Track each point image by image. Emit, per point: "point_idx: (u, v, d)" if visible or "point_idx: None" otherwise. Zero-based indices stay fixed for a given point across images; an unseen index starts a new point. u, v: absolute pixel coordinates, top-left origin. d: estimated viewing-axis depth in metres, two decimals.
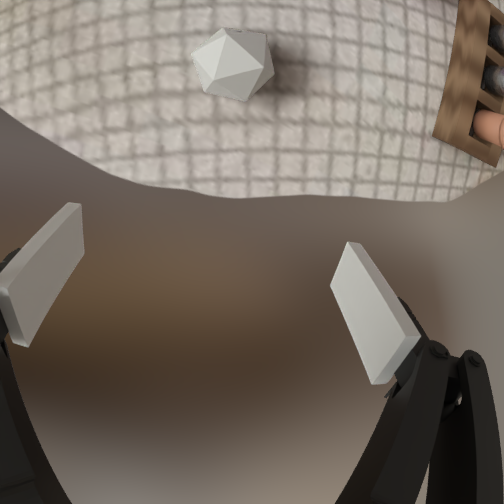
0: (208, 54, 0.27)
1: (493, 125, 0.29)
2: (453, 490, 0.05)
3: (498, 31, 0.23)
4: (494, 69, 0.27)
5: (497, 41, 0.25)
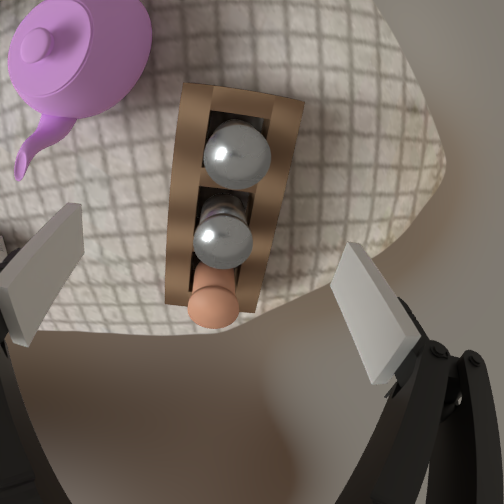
0: None
1: None
2: (453, 490, 0.05)
3: None
4: (203, 211, 0.31)
5: None
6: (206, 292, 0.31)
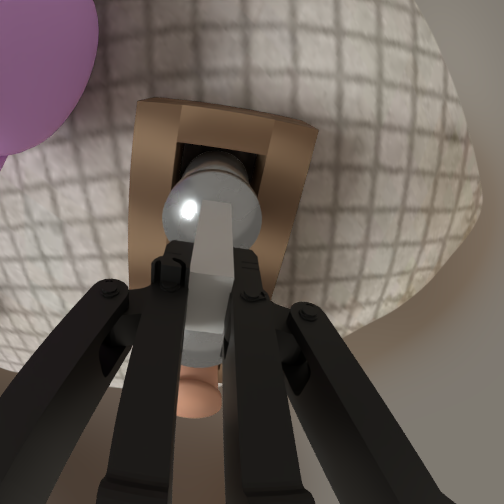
0: None
1: None
2: (353, 472, 0.06)
3: None
4: None
5: None
6: (179, 388, 0.22)
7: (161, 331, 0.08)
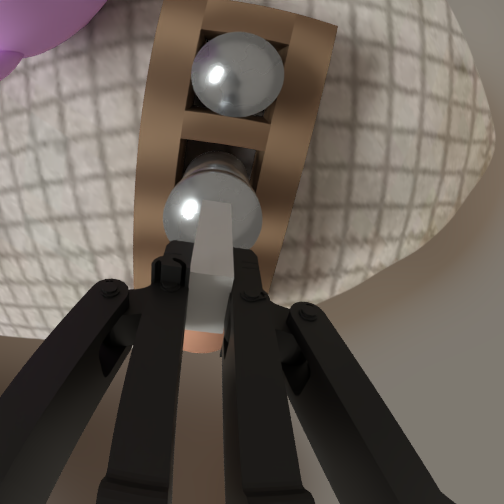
0: None
1: None
2: (353, 472, 0.06)
3: None
4: (184, 174, 0.20)
5: None
6: None
7: (161, 331, 0.08)
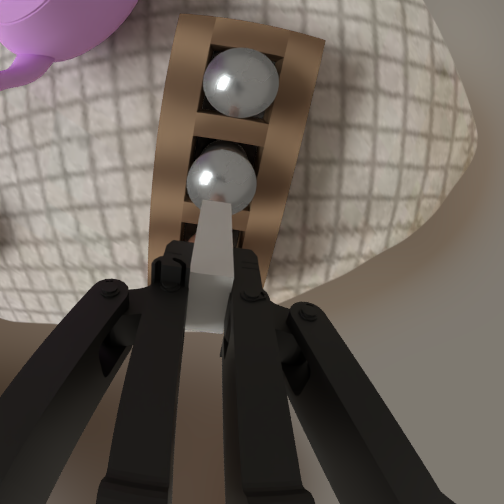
0: None
1: None
2: (353, 472, 0.06)
3: None
4: (200, 155, 0.27)
5: None
6: None
7: (161, 331, 0.08)
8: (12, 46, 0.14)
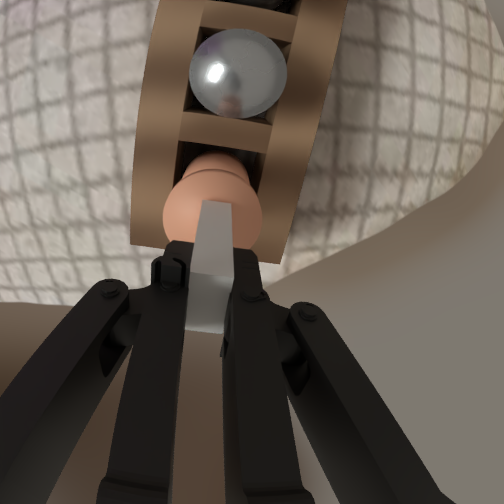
0: None
1: None
2: (353, 472, 0.06)
3: None
4: None
5: None
6: (200, 177, 0.15)
7: (161, 331, 0.08)
8: None
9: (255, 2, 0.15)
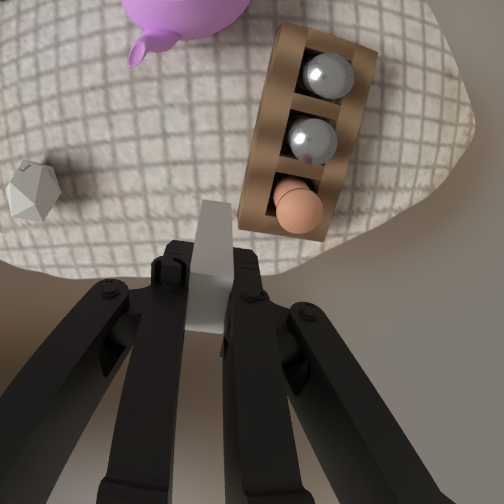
0: (8, 194, 0.33)
1: (277, 202, 0.36)
2: (353, 472, 0.06)
3: (301, 71, 0.32)
4: (289, 124, 0.36)
5: (302, 84, 0.34)
6: (298, 192, 0.33)
7: (161, 331, 0.08)
8: (151, 19, 0.23)
9: None
